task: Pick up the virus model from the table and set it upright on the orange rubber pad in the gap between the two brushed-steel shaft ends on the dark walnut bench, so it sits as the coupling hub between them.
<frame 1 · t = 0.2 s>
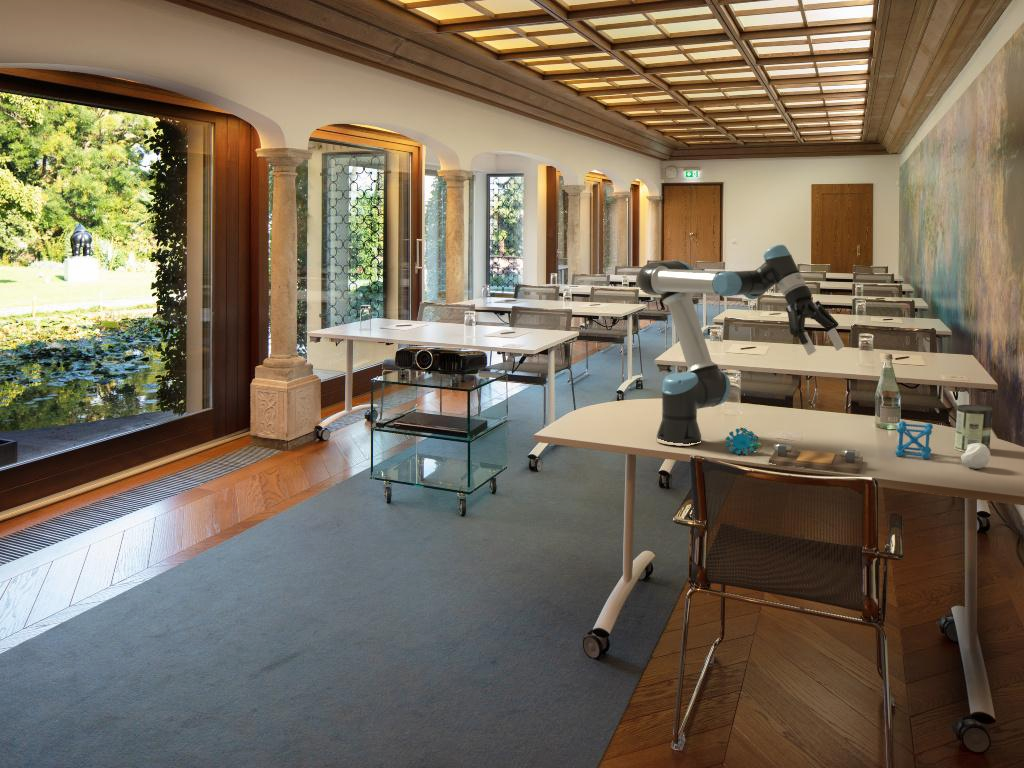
hand: (826, 350, 259), 35 cm above the table, tool tilted 35°, fingers open, 13 cm apart
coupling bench: (815, 463, 266), on the table
shaft pair: (816, 452, 265), point 3 cm above the table
crumpled paper ball: (974, 468, 258), on the table
molecular structure: (913, 455, 274), on the table
virus model: (742, 453, 279), on the table
coffee can: (971, 450, 279), on the table
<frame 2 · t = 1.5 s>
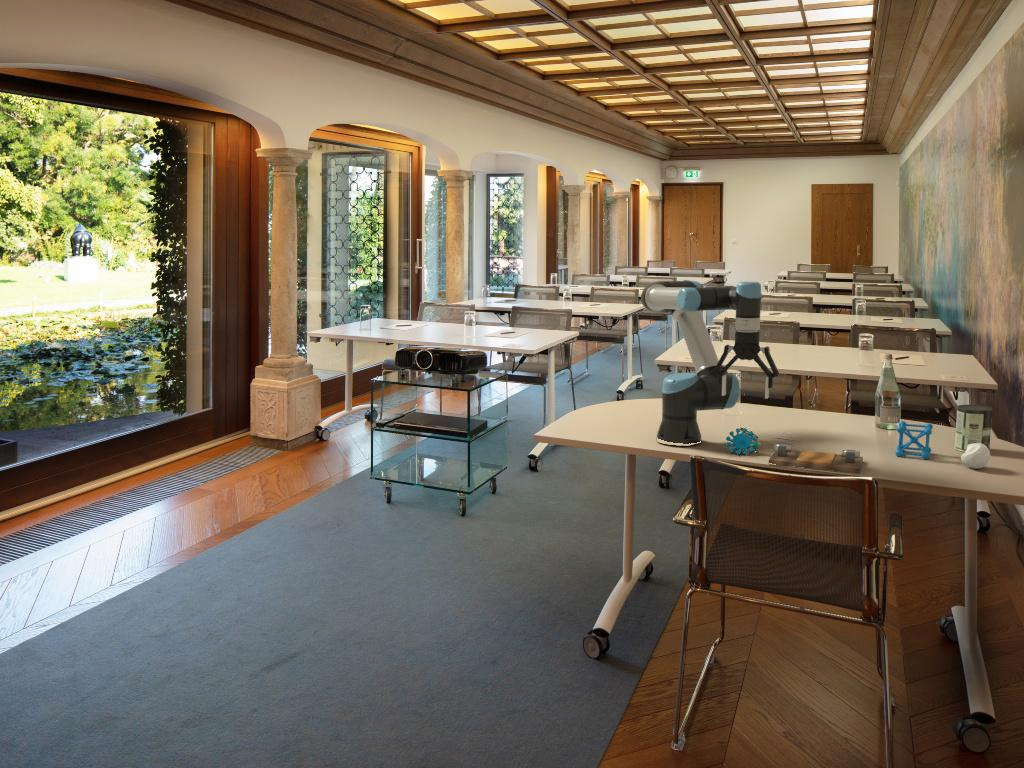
hand: (745, 396, 276), 19 cm above the table, tool pointing down, fingers open, 13 cm apart
nothing on the table moved.
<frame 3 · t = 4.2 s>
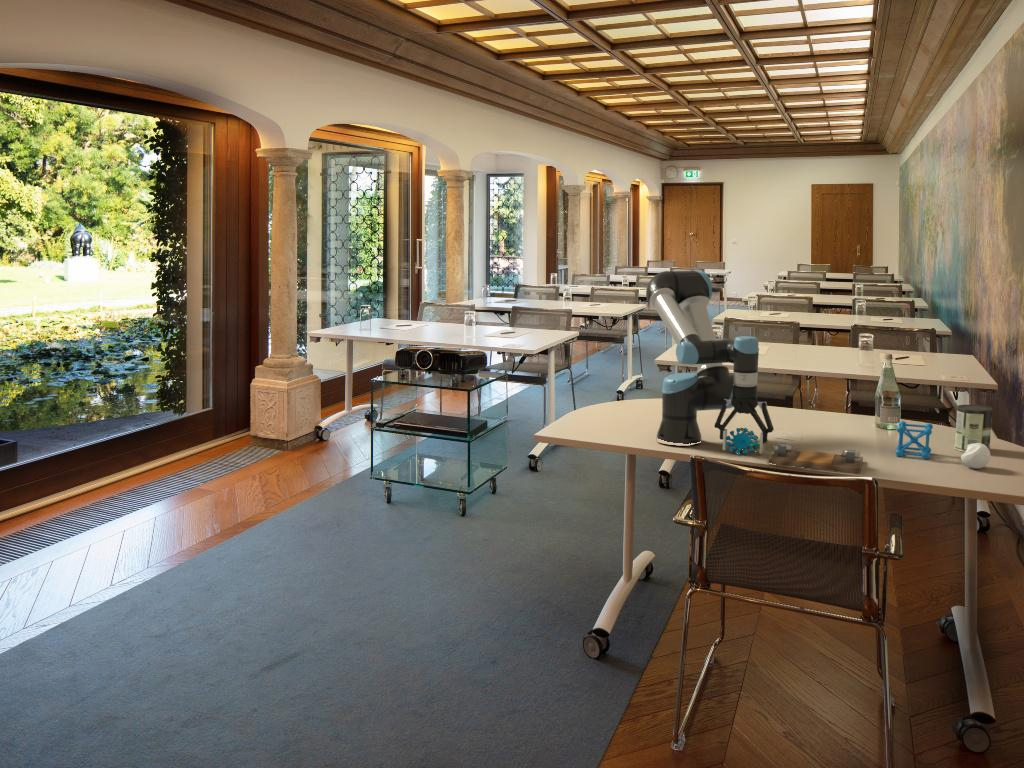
hand: (742, 451, 279), 1 cm above the table, tool pointing down, fingers closed on virus model, 11 cm apart
virus model: (743, 453, 280), on the table, touching gripper
everything else where it was.
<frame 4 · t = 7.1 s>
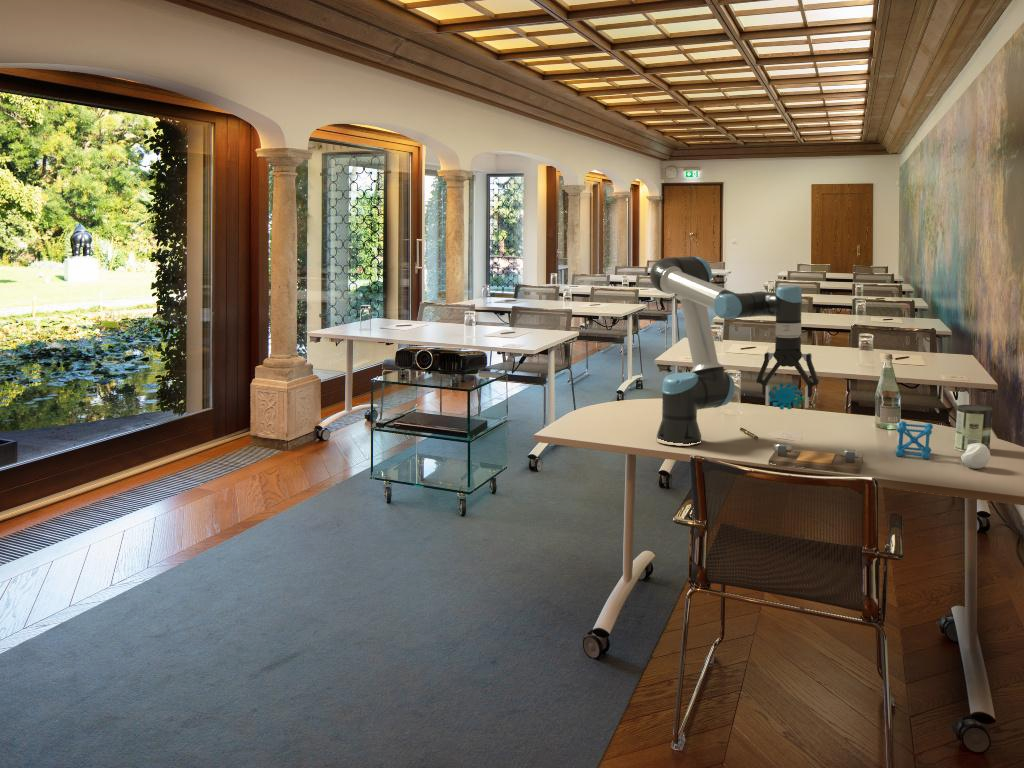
hand: (786, 406, 268), 17 cm above the table, tool pointing down, fingers closed on virus model, 11 cm apart
virus model: (786, 408, 268), point 16 cm above the table, touching gripper
everything else where it was.
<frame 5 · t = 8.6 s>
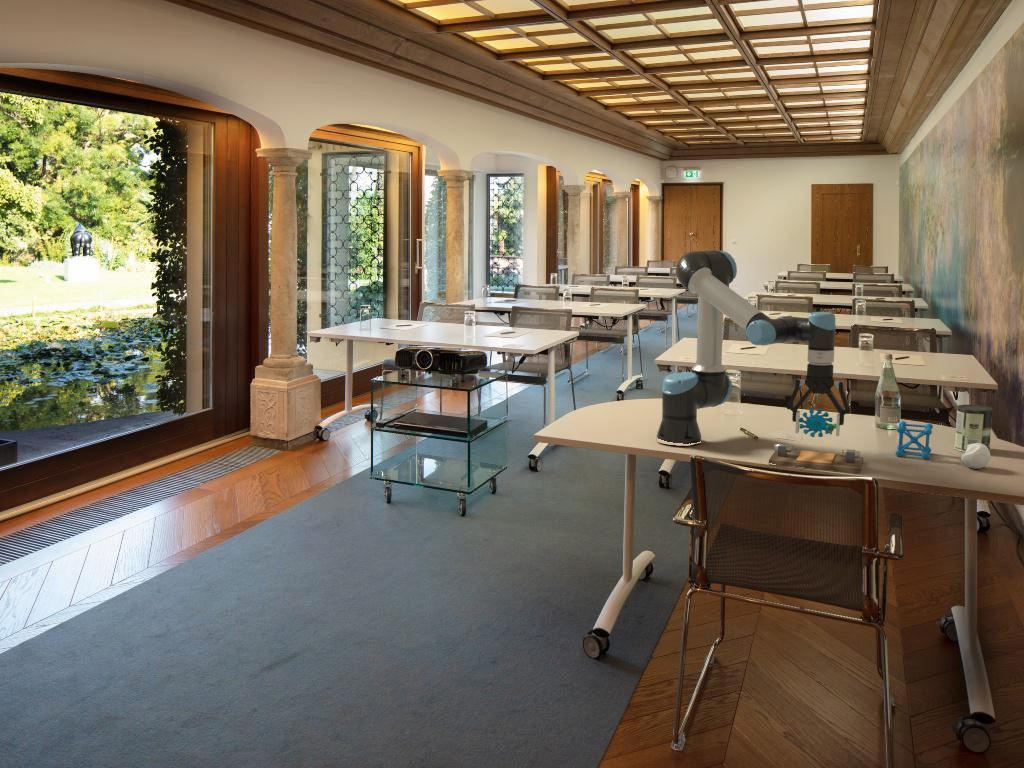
hand: (817, 433, 264), 9 cm above the table, tool pointing down, fingers closed on virus model, 11 cm apart
virus model: (817, 435, 265), point 9 cm above the table, touching gripper
everything else where it was.
when the fingers open (5 cm above the table, at t = 10.0 s): virus model drops 3 cm, resting on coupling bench.
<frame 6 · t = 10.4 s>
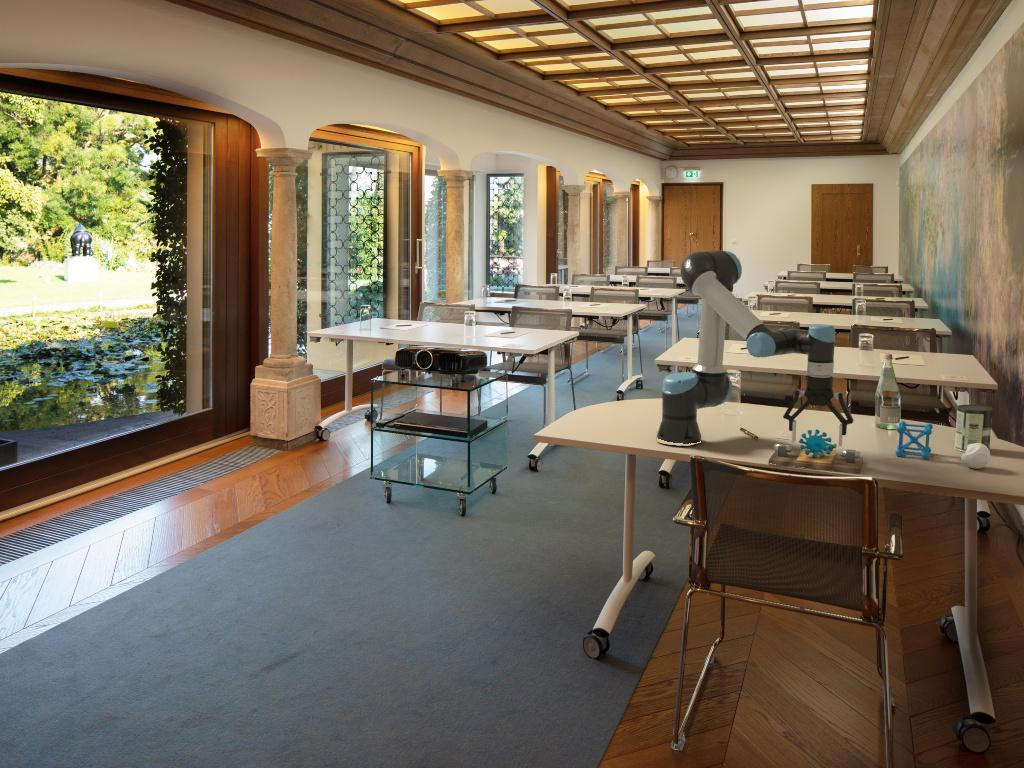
hand: (816, 443, 265), 6 cm above the table, tool pointing down, fingers open, 13 cm apart
virus model: (817, 456, 267), point 2 cm above the table, touching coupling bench
everything else where it was.
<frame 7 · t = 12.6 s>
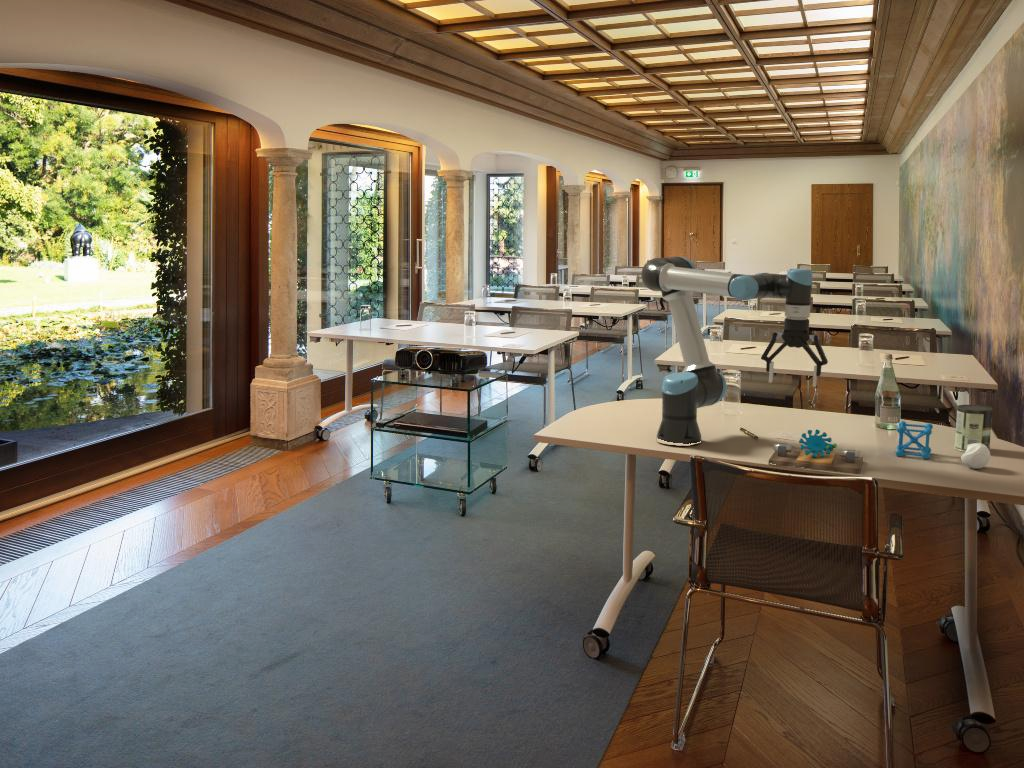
hand: (792, 384, 275), 23 cm above the table, tool pointing down, fingers open, 13 cm apart
nothing on the table moved.
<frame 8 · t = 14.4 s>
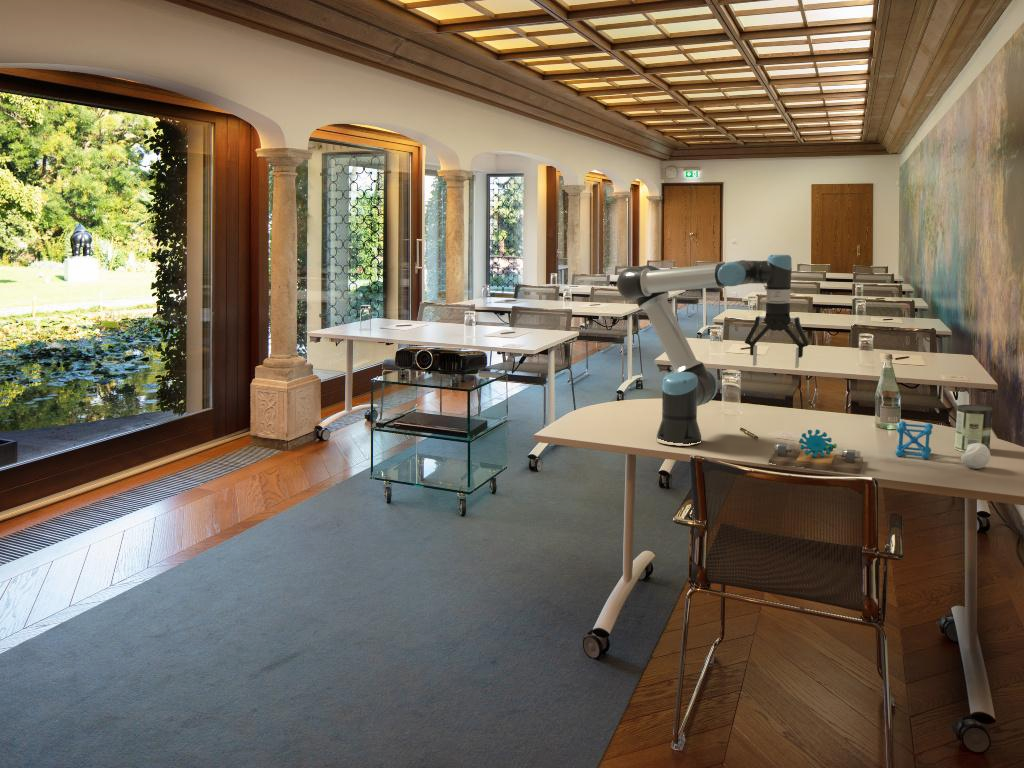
hand: (775, 366, 285), 27 cm above the table, tool pointing down, fingers open, 13 cm apart
nothing on the table moved.
at the end: virus model 1.7 cm off-centre on the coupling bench, point 1.8 cm above the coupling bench's base; virus model tilted 0°; the gripper is holding nothing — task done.
